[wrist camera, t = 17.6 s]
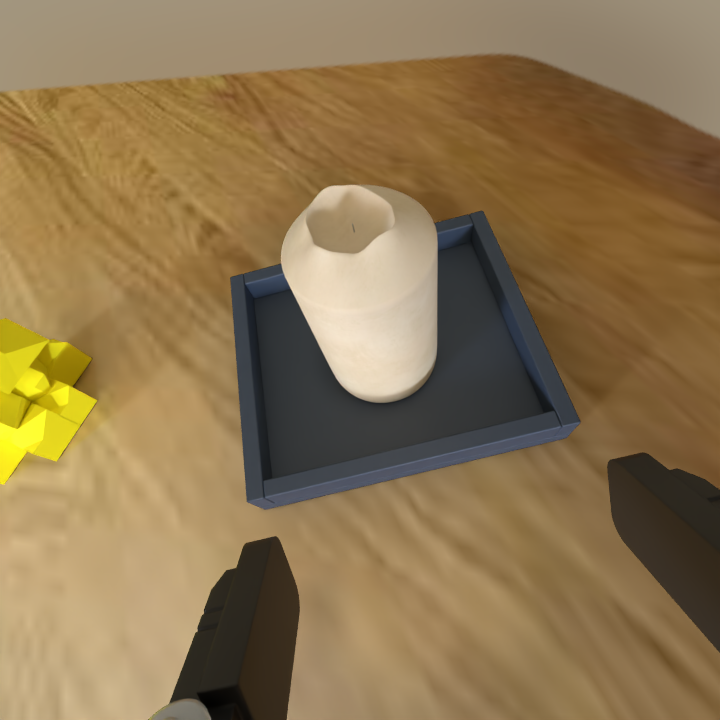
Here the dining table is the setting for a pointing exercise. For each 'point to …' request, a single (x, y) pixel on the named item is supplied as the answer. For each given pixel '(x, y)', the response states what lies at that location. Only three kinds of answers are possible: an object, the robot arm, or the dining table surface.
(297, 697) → the dining table surface
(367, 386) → the candle
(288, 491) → the tray
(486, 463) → the dining table surface
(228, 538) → the dining table surface
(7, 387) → the crumpled paper
